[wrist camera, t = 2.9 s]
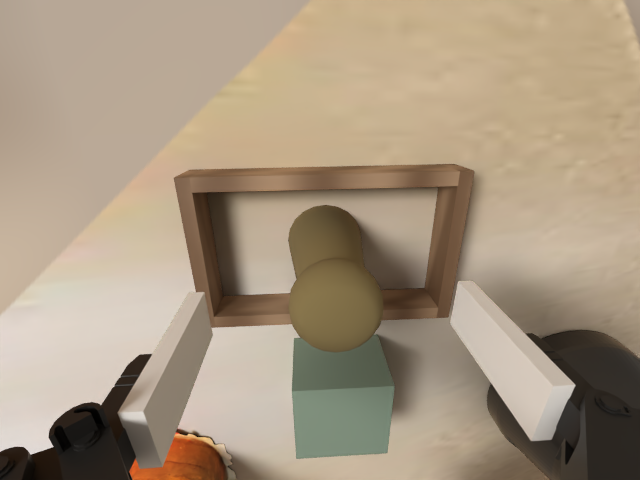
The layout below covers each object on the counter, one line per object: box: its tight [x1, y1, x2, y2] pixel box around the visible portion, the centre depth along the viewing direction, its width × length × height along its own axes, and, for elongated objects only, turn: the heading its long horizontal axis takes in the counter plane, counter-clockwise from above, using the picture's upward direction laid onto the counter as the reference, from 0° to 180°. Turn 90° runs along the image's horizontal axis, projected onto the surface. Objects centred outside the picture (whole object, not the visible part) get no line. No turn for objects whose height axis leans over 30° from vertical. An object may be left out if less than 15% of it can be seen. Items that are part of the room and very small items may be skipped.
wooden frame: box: [174, 164, 474, 328], centre depth 24 cm, size 20×12×3 cm, turn 91°
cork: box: [288, 205, 383, 353], centre depth 20 cm, size 6×6×11 cm
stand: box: [292, 335, 395, 459], centre depth 28 cm, size 8×8×6 cm
